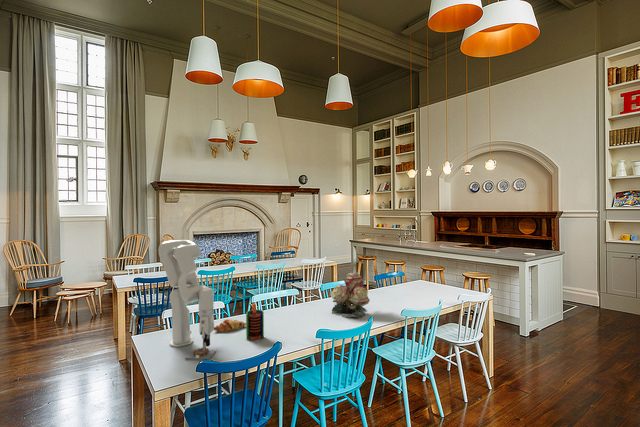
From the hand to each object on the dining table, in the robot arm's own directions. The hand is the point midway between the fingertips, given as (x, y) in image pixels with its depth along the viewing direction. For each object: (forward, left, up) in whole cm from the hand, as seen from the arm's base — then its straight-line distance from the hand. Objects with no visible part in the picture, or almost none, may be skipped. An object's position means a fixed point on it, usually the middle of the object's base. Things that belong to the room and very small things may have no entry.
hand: (206, 345), depth 187 cm
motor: (-23, +21, -5) cm, 31 cm away
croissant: (-38, +1, -5) cm, 38 cm away
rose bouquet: (-72, +81, -5) cm, 109 cm away
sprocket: (+2, -2, -3) cm, 5 cm away
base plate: (+2, -2, -4) cm, 5 cm away
